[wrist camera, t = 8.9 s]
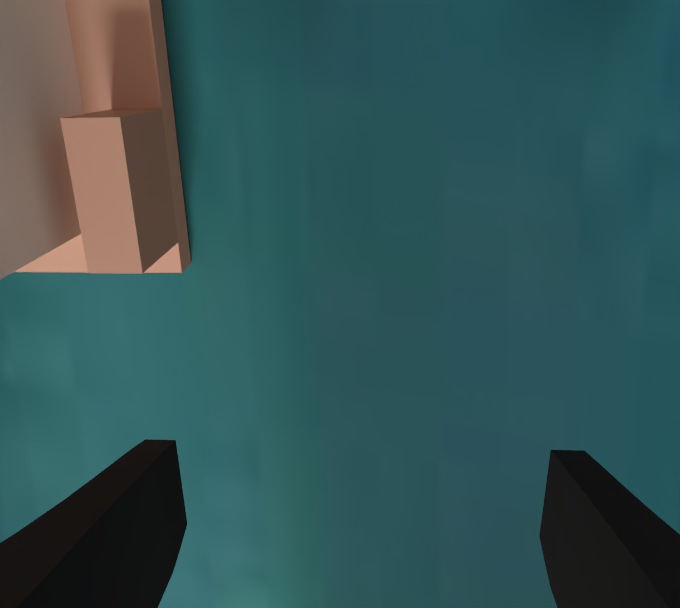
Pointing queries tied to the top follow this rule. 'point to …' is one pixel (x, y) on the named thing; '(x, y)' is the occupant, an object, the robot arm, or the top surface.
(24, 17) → the strip
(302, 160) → the top surface
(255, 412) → the top surface
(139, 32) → the rack
